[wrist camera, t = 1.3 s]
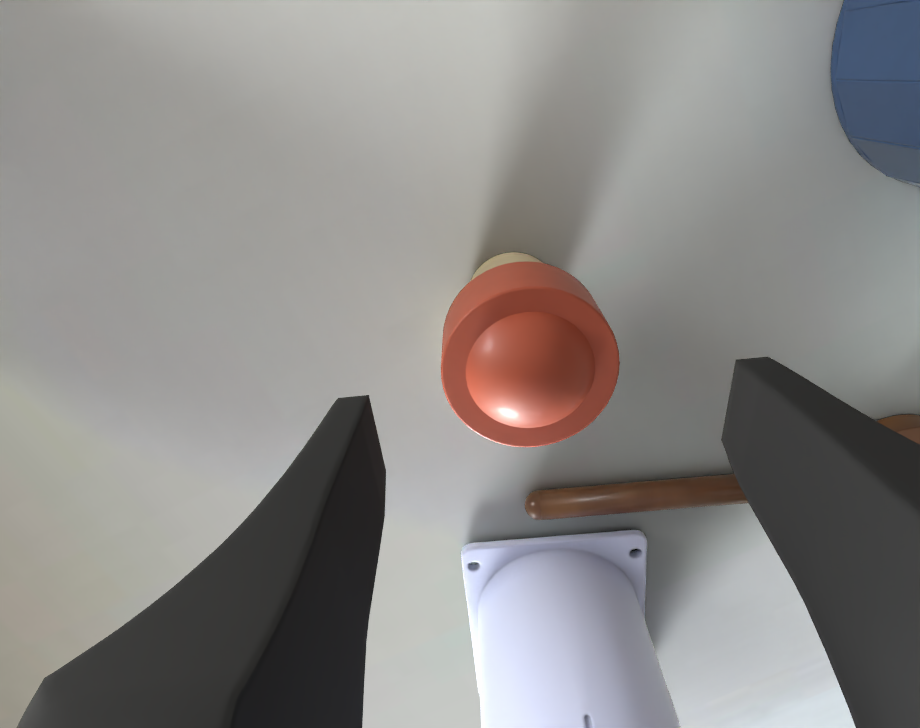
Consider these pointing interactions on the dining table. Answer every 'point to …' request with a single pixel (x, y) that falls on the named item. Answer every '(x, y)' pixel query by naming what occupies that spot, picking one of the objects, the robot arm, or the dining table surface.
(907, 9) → the pot
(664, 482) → the spoon
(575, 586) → the robot arm
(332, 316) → the dining table surface
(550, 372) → the toy mushroom
